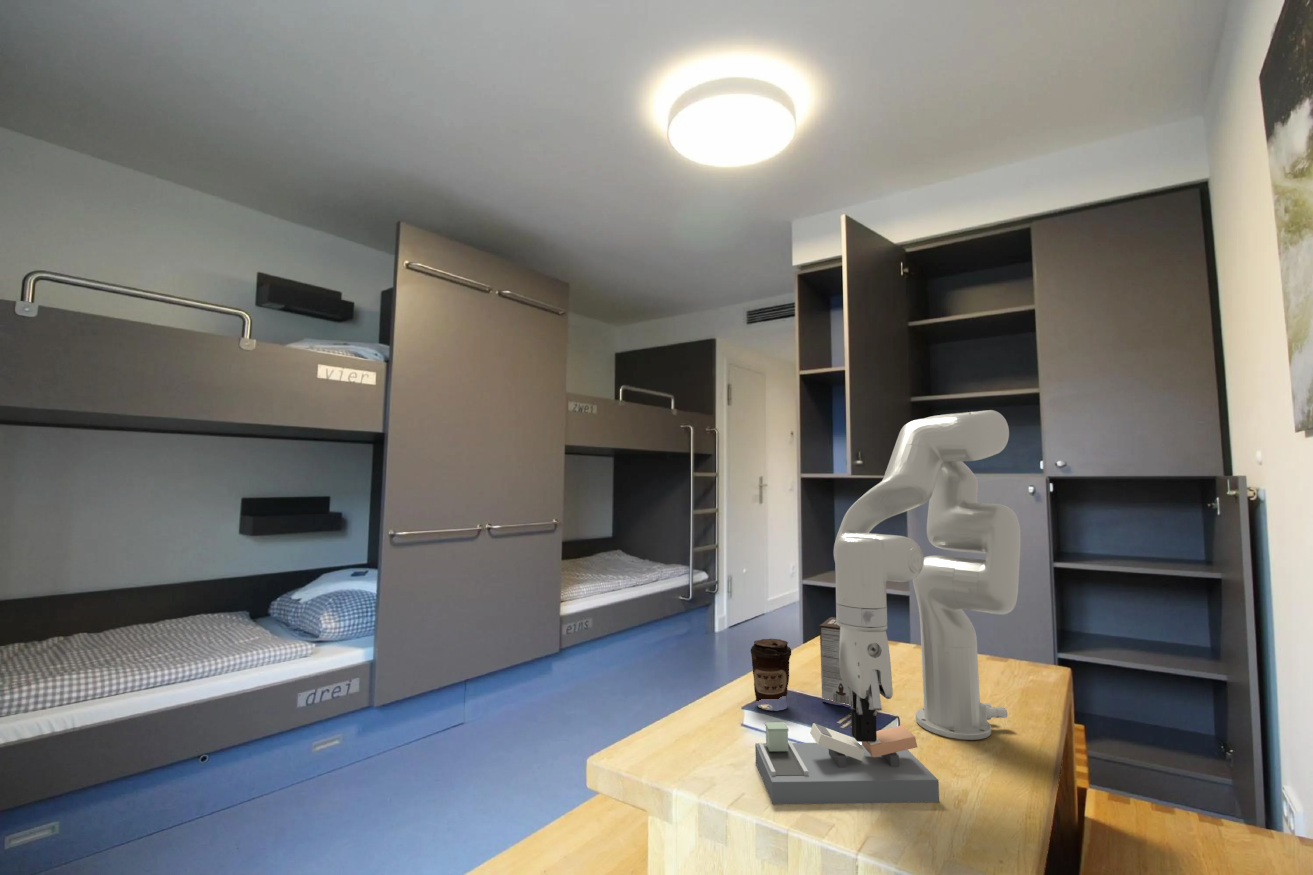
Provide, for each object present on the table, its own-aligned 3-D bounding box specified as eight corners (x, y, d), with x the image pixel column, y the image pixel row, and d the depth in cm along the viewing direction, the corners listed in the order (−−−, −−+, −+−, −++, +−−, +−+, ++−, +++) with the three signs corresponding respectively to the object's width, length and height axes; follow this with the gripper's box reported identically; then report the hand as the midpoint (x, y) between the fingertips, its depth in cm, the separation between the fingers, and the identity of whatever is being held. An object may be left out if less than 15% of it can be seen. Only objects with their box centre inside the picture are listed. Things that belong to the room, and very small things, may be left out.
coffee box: (832, 689, 123) (830, 615, 124) (862, 695, 120) (859, 619, 121) (821, 702, 115) (818, 624, 117) (852, 709, 112) (850, 628, 113)
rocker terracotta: (905, 735, 87) (902, 724, 87) (917, 747, 83) (914, 735, 83) (862, 744, 87) (859, 733, 87) (872, 757, 83) (870, 745, 83)
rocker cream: (851, 748, 87) (855, 737, 87) (861, 760, 83) (865, 749, 83) (810, 732, 87) (813, 721, 87) (817, 744, 83) (821, 733, 83)
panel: (900, 760, 91) (899, 731, 91) (939, 801, 79) (937, 768, 79) (755, 762, 90) (755, 733, 90) (772, 803, 78) (771, 769, 79)
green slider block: (785, 744, 89) (784, 722, 89) (788, 751, 87) (788, 728, 87) (765, 744, 89) (765, 722, 89) (768, 751, 87) (768, 728, 87)
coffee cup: (793, 717, 108) (792, 648, 109) (750, 713, 110) (749, 646, 111) (791, 700, 116) (790, 637, 118) (752, 697, 118) (751, 635, 119)
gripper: (907, 627, 79) (911, 762, 77) (866, 607, 94) (868, 719, 92) (855, 626, 79) (858, 761, 77) (822, 606, 94) (824, 719, 92)
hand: (864, 738), depth 85 cm, fingers closed
